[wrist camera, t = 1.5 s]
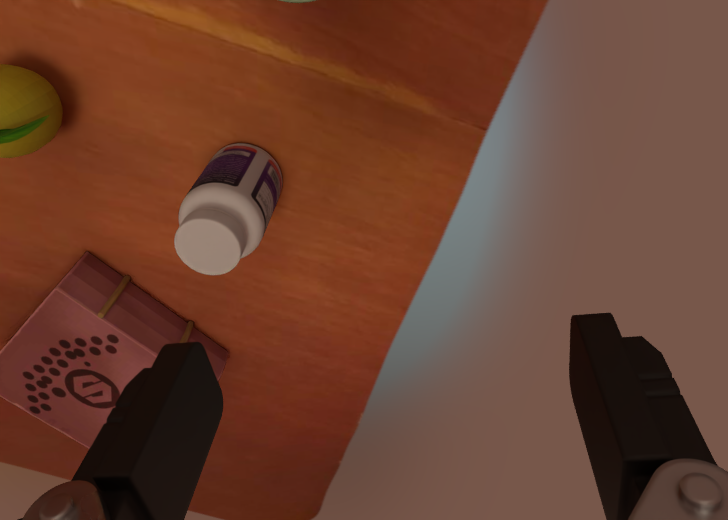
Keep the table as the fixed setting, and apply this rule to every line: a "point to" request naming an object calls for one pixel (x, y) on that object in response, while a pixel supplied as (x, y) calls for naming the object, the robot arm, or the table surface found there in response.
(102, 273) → the book
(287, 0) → the ring spool
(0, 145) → the lemon
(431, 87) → the table surface
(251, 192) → the pill bottle
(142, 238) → the table surface
